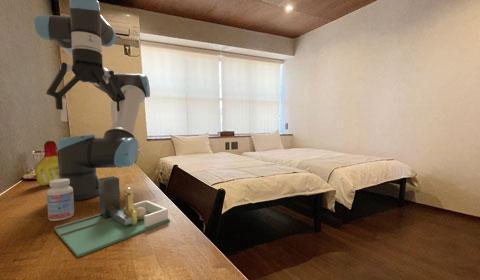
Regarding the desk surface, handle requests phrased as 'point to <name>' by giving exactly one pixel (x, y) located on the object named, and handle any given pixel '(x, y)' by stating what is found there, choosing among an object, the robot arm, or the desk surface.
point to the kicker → (116, 201)
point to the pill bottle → (60, 200)
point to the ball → (140, 213)
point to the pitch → (98, 233)
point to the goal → (152, 212)
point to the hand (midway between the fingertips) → (91, 121)
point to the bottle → (48, 165)
